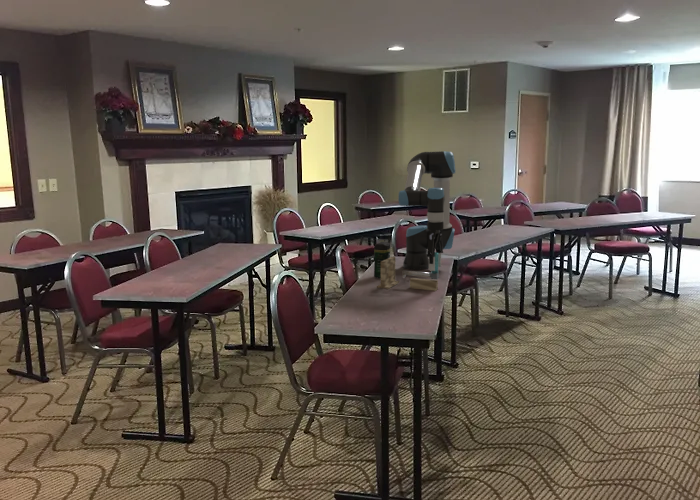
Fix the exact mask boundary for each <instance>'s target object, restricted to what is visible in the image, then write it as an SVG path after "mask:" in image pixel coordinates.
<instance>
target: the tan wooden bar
mask: <svg viewBox="0 0 700 500" xmlns="http://www.w3.org/2000/svg"><path fill="white" fill-rule="evenodd" d="M409 289H416V290H425V291H434V292H435V291H437V290H439V279H427V278H426V279H425V278H416V277H411V278H409Z"/></svg>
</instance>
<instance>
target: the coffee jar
mask: <svg viewBox="0 0 700 500" xmlns="http://www.w3.org/2000/svg"><path fill="white" fill-rule="evenodd" d="M373 251H374V252H373V253H374V256H373V257H374V265H373V267H374V268H373V277H374V278H376V279H381V261H384V260H386V259H388V258H390V257H391V243H390V242H389V241H380V242H378V243H375V244H374V246H373Z"/></svg>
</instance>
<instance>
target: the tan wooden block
mask: <svg viewBox="0 0 700 500" xmlns="http://www.w3.org/2000/svg"><path fill="white" fill-rule="evenodd" d="M399 283H400V281H398V280H396V257H395V256H390V258H388V259H386V260H384V261H381V278H380V284H379V285H376V288H377V289H384V288H386V290H390V288H392V287H394V286H396V285H398V284H399Z"/></svg>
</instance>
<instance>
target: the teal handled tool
mask: <svg viewBox="0 0 700 500" xmlns="http://www.w3.org/2000/svg"><path fill="white" fill-rule="evenodd" d="M434 257H435V271H431V272H425V271H417V270H416V271H414V270H413V271H412V270H402V278H406V276H411V277H424V278H430V280H439V279H440V272H439V267H438V257H439V253H438V252H436V251H435V254H434Z"/></svg>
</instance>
